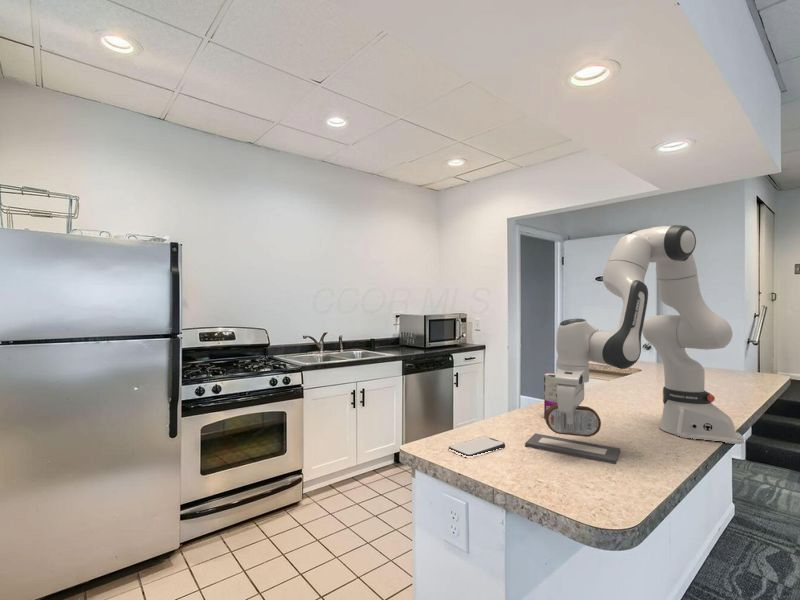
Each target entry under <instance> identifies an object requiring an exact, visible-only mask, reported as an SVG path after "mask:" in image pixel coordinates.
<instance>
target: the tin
mask: <svg viewBox="0 0 800 600" xmlns="http://www.w3.org/2000/svg"><path fill="white" fill-rule="evenodd" d="M544 420H545V423H546V425H547V427H548V428H549V429H550V431H552V432H553V433H555V434H558V435H564V436H573V437H574V436H576V437H585V438H586V437H587V438H589V437H593V436H595V435H596V434H598V432H599V431H600V430H601V426H602V425H601V424H602V422H601V418H600V416H599V414H598V412H597V411H596V410H595V409H593V408H592V407H589V406H583V405H579V406H578V407H577V408H576V409H575V410H574V423H573V424H568V423H567V417H566V413H565V412H560V411H559V409H558V404H556V405H553V406H551V407H550V408H549V409H548V410H547V411H546V414H545V418H544Z"/></svg>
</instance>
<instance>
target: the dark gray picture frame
mask: <svg viewBox="0 0 800 600" xmlns="http://www.w3.org/2000/svg"><path fill="white" fill-rule="evenodd" d="M524 447H527V448H530V449H531V448H532V449H537V450H542V451H546V452H550V453H551V452H552V453H556V454H557V453H558V454H562V455H567V456H570V457H571V456H572V457H577V458H583V459H587V460H591V461H592V460H593V461H597V462H603V463H608V464H613V465H617V462H618V459H619V456H620V453H621V448H620V447H613V446H608V445H602V444H597V443H592V442H591V443H590V442H587V441H586V442H585V441H582V440H581V441H580V440H574V439H568V438H564V437H557V436H554V435H553V436H552V435H548V434H541V433H536V432H535V433H534V434H533V435H532V436H531V437H529V439H527V440H526V441H525V443H524Z"/></svg>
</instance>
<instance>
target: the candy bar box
mask: <svg viewBox="0 0 800 600" xmlns="http://www.w3.org/2000/svg"><path fill="white" fill-rule="evenodd" d="M555 375H556V372H555V373H551V372H545V373H544V374H543V382H544V383H543V389H544V391H543V392H544V393H543V395H544V397H543V400H544V402H543V404H544V406H543V407H544V411H543V413H544V414H543V415H544V419H545V414H546V411H547V410H548V409H549V408H550V407H551V406H553V405H556V404H558V402H557V384H556V383H555Z"/></svg>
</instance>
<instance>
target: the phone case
mask: <svg viewBox="0 0 800 600" xmlns="http://www.w3.org/2000/svg"><path fill="white" fill-rule="evenodd" d="M503 447H506V444H505V442H504V441H500V440H497V439H495V438H491V437H489V436H480V437H476V438H474V439H473V438H472V439H470V440H467V441H463V442H459V443H457V444H453V445H450V446H448V450H449V449H451V450H454V451H456V452H458V453H461V454H463V455H466V456H473V455H477V454H481V453H485V452H488V451H493V450H496V449H499V448H503ZM503 449H504V448H503Z"/></svg>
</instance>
